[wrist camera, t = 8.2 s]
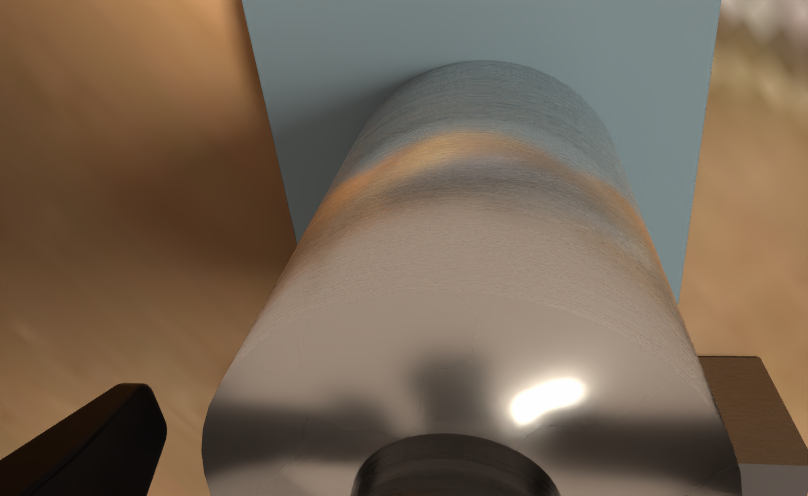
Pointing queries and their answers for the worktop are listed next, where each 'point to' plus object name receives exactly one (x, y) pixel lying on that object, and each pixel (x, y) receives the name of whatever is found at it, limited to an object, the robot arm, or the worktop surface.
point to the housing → (758, 427)
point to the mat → (501, 41)
